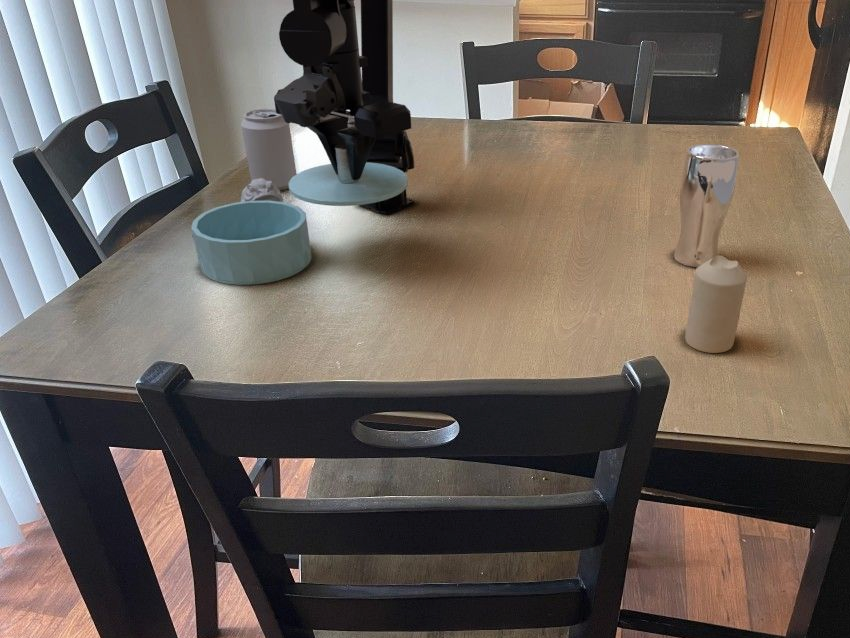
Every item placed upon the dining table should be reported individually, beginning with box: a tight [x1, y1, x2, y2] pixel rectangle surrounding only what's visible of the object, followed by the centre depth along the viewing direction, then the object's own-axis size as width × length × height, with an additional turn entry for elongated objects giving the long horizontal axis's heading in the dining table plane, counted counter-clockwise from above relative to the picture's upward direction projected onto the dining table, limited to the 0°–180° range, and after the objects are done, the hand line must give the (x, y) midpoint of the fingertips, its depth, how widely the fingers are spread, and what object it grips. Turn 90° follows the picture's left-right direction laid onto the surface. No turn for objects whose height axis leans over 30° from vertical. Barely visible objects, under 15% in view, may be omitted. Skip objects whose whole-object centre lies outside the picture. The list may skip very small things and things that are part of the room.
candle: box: [684, 255, 748, 354], centre depth 85 cm, size 6×6×10 cm
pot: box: [190, 201, 312, 286], centre depth 103 cm, size 14×15×6 cm
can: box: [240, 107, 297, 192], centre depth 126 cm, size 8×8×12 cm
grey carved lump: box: [240, 178, 284, 202], centre depth 113 cm, size 6×7×7 cm
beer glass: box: [673, 143, 740, 269], centre depth 103 cm, size 7×7×15 cm
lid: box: [288, 143, 409, 207], centre depth 100 cm, size 15×15×6 cm
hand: (348, 177), depth 100 cm, fingers closed on lid, 2 cm apart
